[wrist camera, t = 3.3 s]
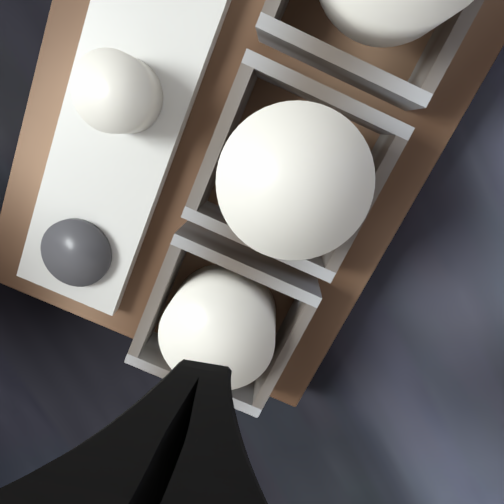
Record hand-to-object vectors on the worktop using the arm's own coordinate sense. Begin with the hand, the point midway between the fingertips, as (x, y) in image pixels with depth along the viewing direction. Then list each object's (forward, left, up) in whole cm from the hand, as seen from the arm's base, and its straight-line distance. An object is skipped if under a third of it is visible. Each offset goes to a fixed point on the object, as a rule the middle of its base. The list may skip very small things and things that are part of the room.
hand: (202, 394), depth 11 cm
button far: (0, 0, -5) cm, 5 cm away
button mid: (0, -6, -3) cm, 7 cm away
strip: (+6, -6, -6) cm, 10 cm away
